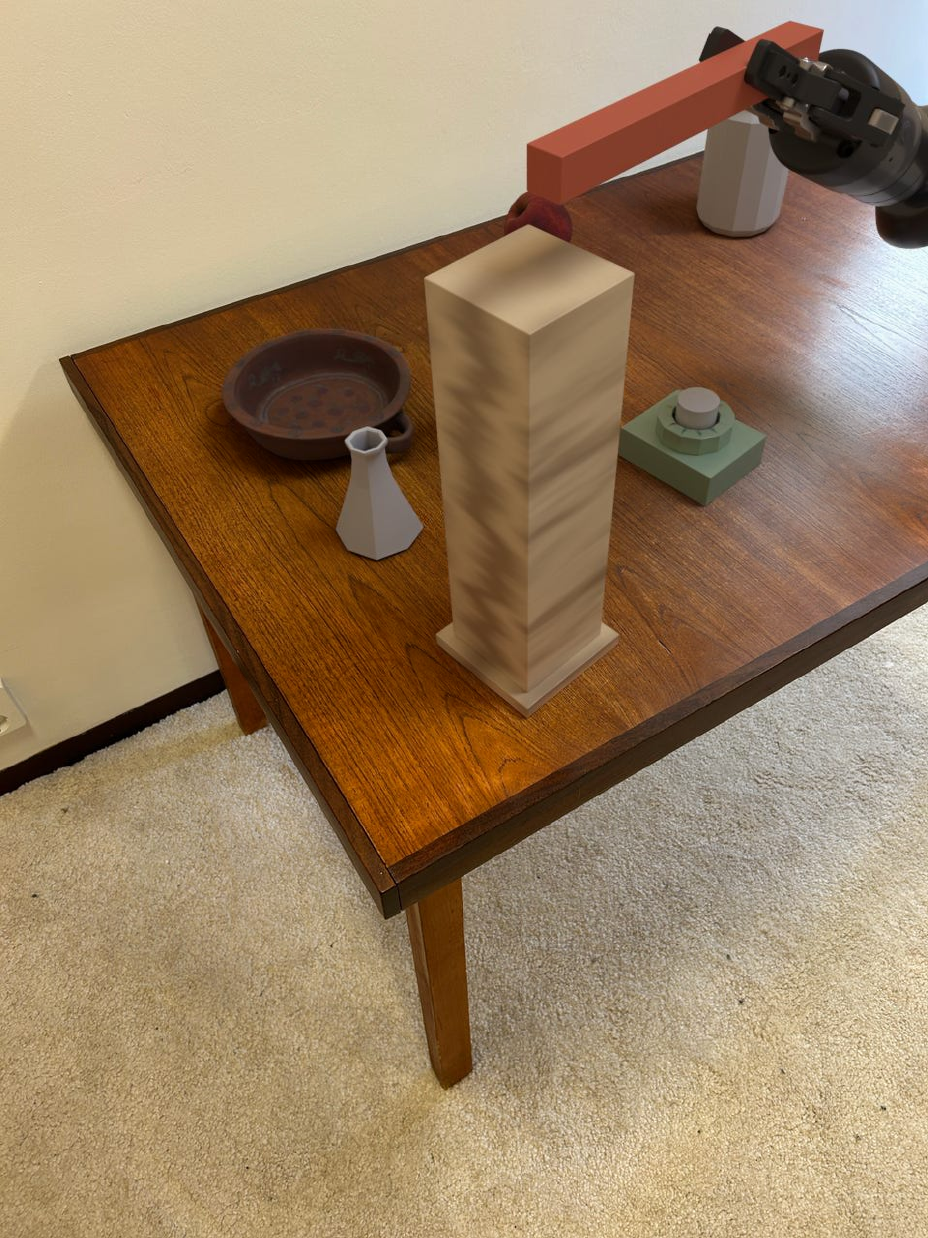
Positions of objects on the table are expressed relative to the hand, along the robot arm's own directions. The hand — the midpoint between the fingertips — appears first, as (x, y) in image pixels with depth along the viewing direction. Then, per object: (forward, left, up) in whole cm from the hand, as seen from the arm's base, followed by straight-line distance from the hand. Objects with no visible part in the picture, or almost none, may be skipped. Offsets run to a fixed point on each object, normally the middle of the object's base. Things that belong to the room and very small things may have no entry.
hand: (733, 53), depth 53 cm
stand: (0, +16, -38) cm, 41 cm away
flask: (+18, +16, -38) cm, 45 cm away
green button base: (+5, -10, -38) cm, 39 cm away
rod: (0, +4, -3) cm, 5 cm away
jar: (+29, -49, -38) cm, 68 cm away
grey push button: (+5, -10, -33) cm, 35 cm away
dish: (+34, +10, -38) cm, 52 cm away
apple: (+40, -26, -38) cm, 61 cm away
